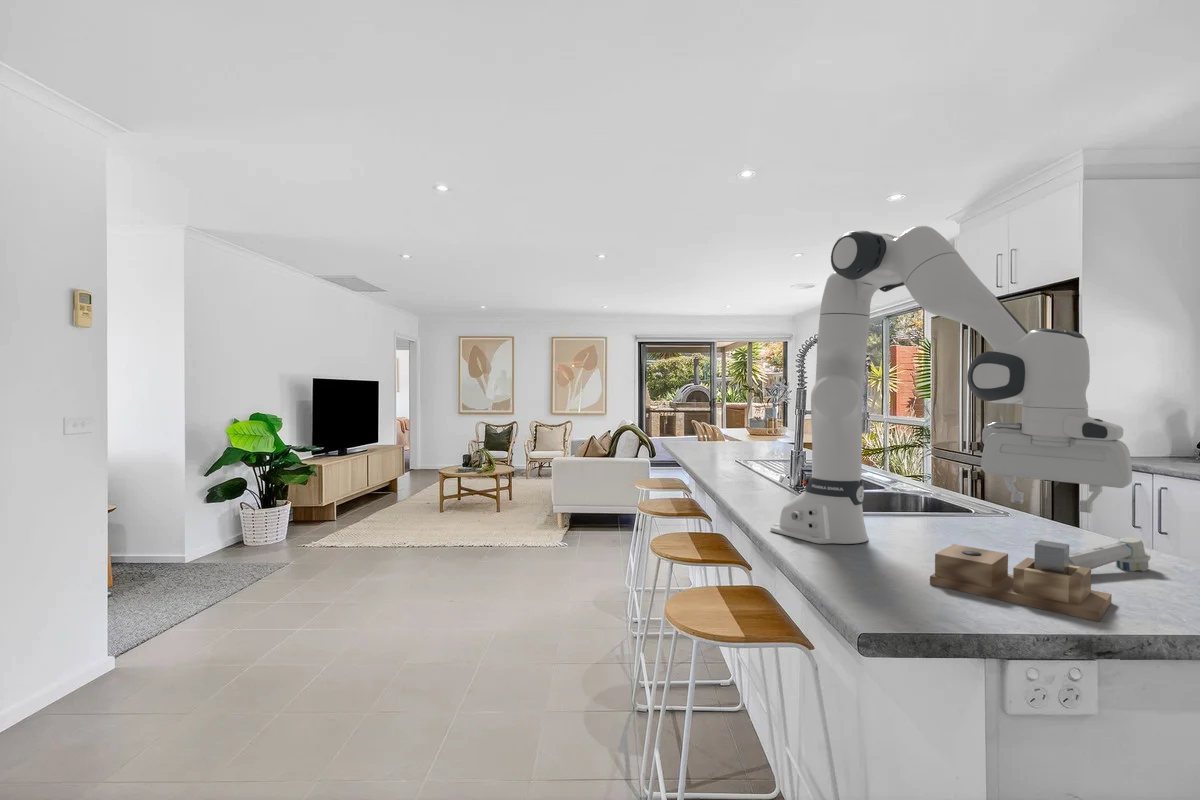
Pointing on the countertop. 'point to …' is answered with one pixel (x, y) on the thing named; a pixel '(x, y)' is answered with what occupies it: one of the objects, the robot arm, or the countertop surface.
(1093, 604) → the holder
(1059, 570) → the grey rectangular block
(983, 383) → the robot arm
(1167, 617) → the countertop surface
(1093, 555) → the white handle
